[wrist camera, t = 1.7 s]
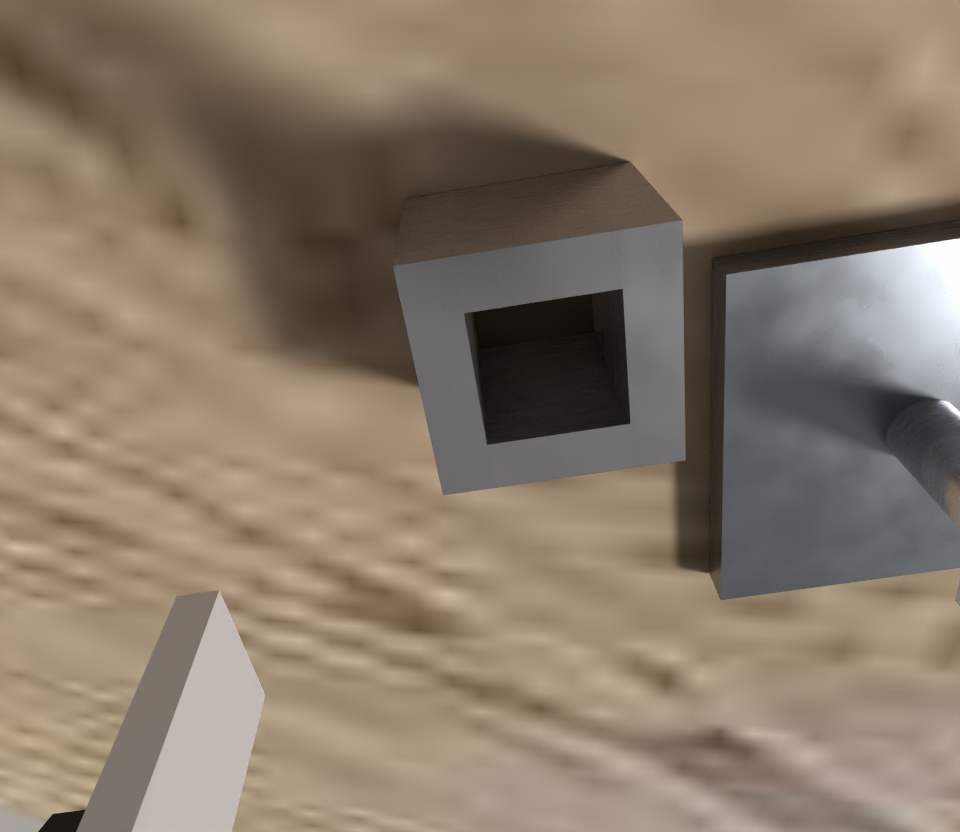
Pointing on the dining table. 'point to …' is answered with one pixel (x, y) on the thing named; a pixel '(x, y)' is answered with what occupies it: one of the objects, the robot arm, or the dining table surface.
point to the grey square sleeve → (551, 362)
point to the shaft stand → (835, 411)
